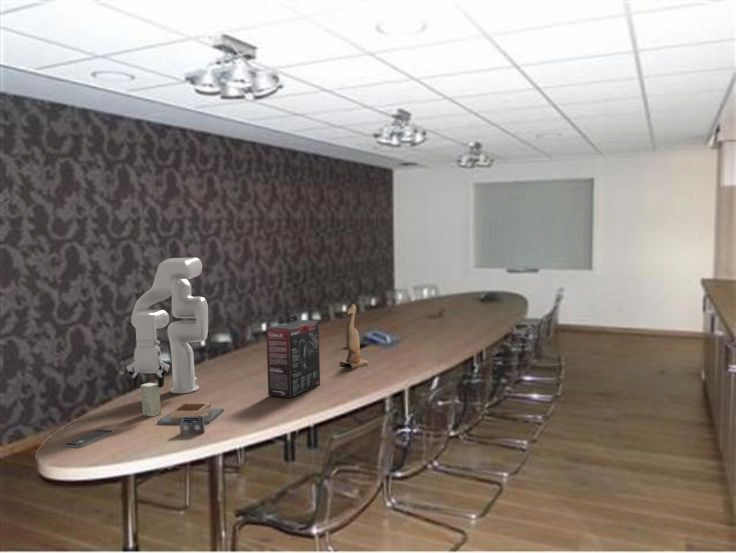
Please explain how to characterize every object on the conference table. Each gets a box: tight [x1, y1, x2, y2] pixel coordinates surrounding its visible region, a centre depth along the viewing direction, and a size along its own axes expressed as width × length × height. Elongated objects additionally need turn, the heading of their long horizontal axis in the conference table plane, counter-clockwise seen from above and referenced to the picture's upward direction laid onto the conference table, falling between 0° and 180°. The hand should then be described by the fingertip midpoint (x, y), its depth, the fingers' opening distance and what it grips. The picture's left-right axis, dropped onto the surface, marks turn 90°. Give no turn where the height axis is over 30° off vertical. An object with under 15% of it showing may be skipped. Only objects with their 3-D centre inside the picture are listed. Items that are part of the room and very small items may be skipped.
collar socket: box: [156, 402, 225, 425], centre depth 235 cm, size 16×20×4 cm
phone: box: [64, 429, 114, 449], centre depth 214 cm, size 8×1×16 cm
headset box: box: [265, 315, 321, 399], centre depth 267 cm, size 24×13×33 cm, turn 154°
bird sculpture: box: [339, 303, 369, 369], centre depth 313 cm, size 11×12×32 cm
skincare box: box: [140, 382, 162, 417], centre depth 240 cm, size 6×4×12 cm
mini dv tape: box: [179, 416, 206, 435], centre depth 216 cm, size 8×2×6 cm, turn 88°
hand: (149, 387), depth 239 cm, fingers open, 9 cm apart
